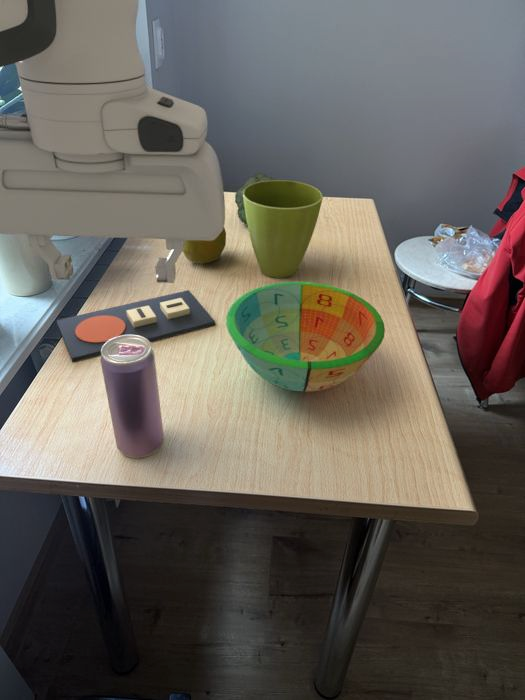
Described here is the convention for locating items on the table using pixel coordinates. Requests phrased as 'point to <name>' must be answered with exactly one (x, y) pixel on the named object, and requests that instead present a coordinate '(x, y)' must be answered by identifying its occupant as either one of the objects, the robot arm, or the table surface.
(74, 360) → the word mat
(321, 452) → the table surface
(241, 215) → the vegetable
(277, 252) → the flower pot
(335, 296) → the bowl
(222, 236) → the apple
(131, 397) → the beverage can
